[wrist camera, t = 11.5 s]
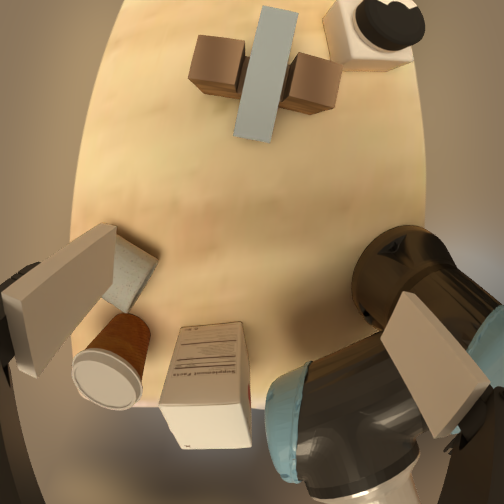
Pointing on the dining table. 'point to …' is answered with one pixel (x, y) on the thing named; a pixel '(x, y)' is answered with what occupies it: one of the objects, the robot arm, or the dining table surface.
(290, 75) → the walnut stand
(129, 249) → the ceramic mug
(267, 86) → the slate plate
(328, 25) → the medicine bottle
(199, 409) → the supplement box
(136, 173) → the dining table surface
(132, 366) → the disposable coffee cup
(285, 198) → the dining table surface
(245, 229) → the dining table surface
